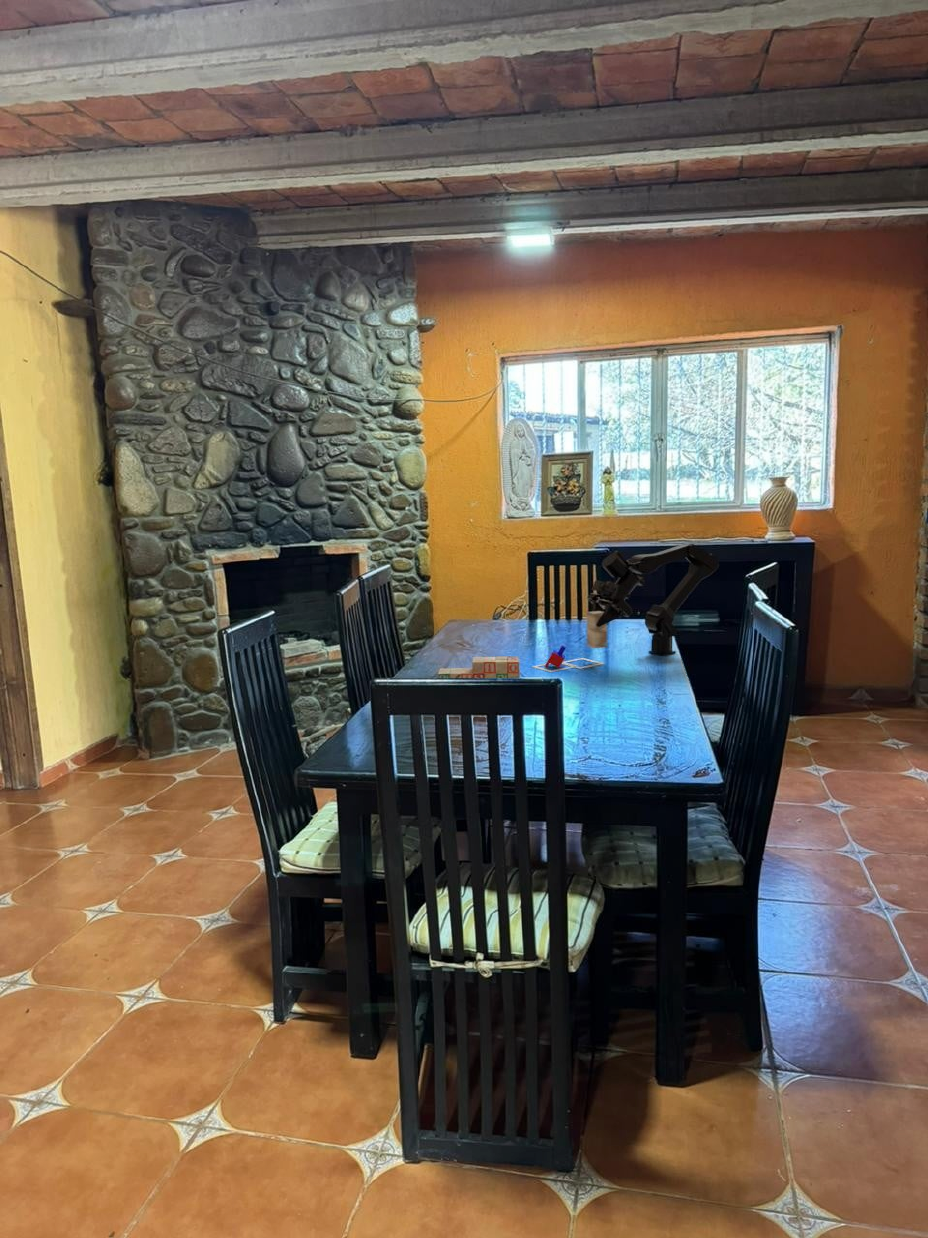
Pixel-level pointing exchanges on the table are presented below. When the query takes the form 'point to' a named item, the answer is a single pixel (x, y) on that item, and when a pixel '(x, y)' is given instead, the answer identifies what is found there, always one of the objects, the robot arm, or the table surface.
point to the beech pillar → (596, 630)
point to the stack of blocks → (485, 668)
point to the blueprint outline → (569, 665)
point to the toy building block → (556, 657)
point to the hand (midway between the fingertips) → (593, 624)
